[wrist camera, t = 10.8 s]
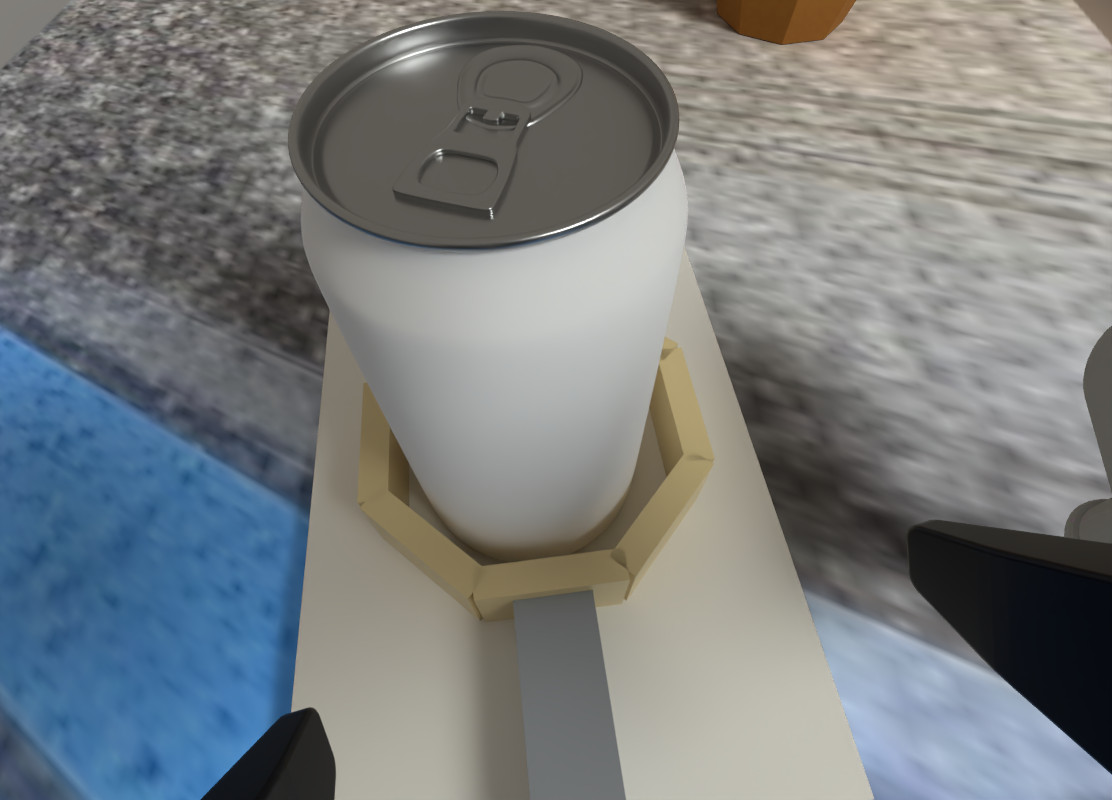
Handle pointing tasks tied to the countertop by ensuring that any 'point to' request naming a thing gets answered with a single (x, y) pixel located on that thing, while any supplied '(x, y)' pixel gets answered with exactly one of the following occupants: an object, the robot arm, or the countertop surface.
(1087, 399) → the mechanical component
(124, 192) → the countertop surface
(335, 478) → the octagonal ring fixture plate
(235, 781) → the robot arm
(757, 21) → the potted plant
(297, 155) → the can
